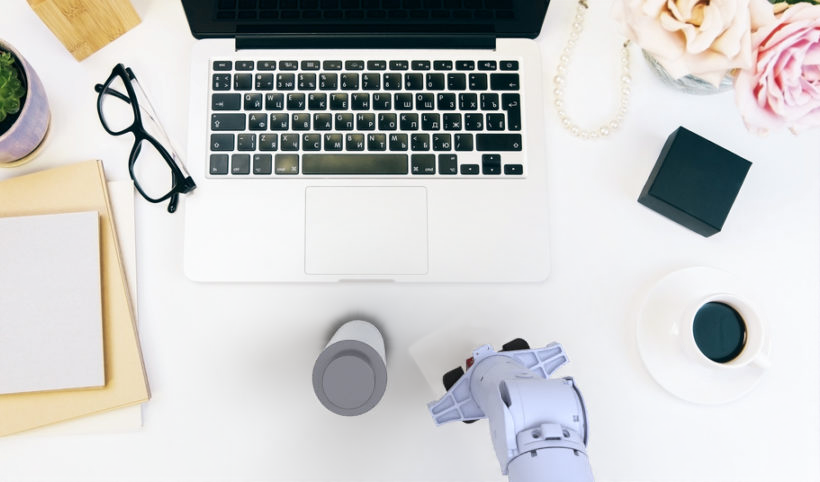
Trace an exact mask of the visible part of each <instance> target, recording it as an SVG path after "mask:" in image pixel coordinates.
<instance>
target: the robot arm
mask: <svg viewBox="0 0 820 482" xmlns="http://www.w3.org/2000/svg"><path fill="white" fill-rule="evenodd" d="M471 355H472V356H471V357H473V358H474V364H473V365H472V366H471V367H470V368H469V369H468V370H467V371H466V370H465V371H464V369H463V367H462V365H459V366H457V367H455V368H452V369H451V370H449V371H447V372H445V373H444V374H443V375H442V384H443V387H444V389H445V391H446V392H445V393H444V394H443V395H442V396H441V397H440V398H439V399H438V400H435V399H434V400H432V401H430V402H428V403H426V406H427V409H428V411H429V413H430V415H431V417H432V419H433V421H434V424H435V425H436V427H440V426H441V427H442V426H444V425H446V424H449V423H450V424H451V423H454V422H462V423H464V424H467V425H469V424H470V425H471V424H474V423H476V422H478V421H480V420H485V419H488V428H489V433H490V438H491V443H492V447H493V450H494V453H495V456H496V460H497V461H498V463H499V467H500V472H501V474H502V476H507V480H508V482H596V479H595V475H594V473H593V470H592V469H593V468H592V466H591V463H590V459H589V455H588V452H587V448H588V444H589V439H590V420H589V413H588V409H587V404H586V400H585V398H584V394H583V392H582V391H581V389H580V388H579V387H578V385H577V383H576V379H575V378H574V376H572V375H566V376H563V377H561V378H551V377H552V376H553V375H554V374H555V373H556V372H557V371H558V370H559V369H560V368H562V367H563V366H565V365H566V364H568V363H570V360H569V357H568V355H567V353H566V351H565V349H564V347H563V344H562V343H560V342H557V341H555V340H554V341H552V342H549V343H548V344H546V346H544V347H536V348H535V347H534V348H531V347H530V345H529V343H528V341H527V340H526V339H524V338H522V337H516V338H514V339H512V340H510V341H508V342H505V343H504V344H502V345H501V349H499V350H498V351H495V350H494V347H493V346H492V345H491V344H489V343H484V344H483V345H480V346H478V347H476V348H474V349H473V350H472V353H471Z"/></svg>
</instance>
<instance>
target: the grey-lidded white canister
mask: <svg viewBox="0 0 820 482" xmlns="http://www.w3.org/2000/svg"><path fill="white" fill-rule="evenodd" d="M385 349H386V348H385V341H384V337H383V335H382V333H381V331H379V329H378V328H377V326H375V325H374V324H372V323H370V322H369V321H366V320H362V319H356V320H350V321H348V322H345V323H344V324H342V325H341V326H339V328H338V329H337V330H336V331H335V333H334V334H333V336H332V337H331V339H330V340H329V341H328V342H327V344H326V346H325V347H324V348H323V350H322V351H321V353H320V354H319V355H318V357H317V358H316V360H315V363H314V365H313V368H312V374H311V382H312V388H313V392H314V393H315V396H316V398H317V399H318V401H319V402H320V404H321V405H323V407H324V408H325V409H327V410H328V411H330V412H331V413H333V414H335V415H339V416H341V417H357V416H361V415H364V414H366V413H368V412H370V411H371V410H372V409H374V408H375V407H376V406H377V405H378V404H379V403H380V401H381V400H382V398H383V397H384V394H385V392H386V390H387V386H388V370H387V369H388V368H387V360H386V350H385Z"/></svg>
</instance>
